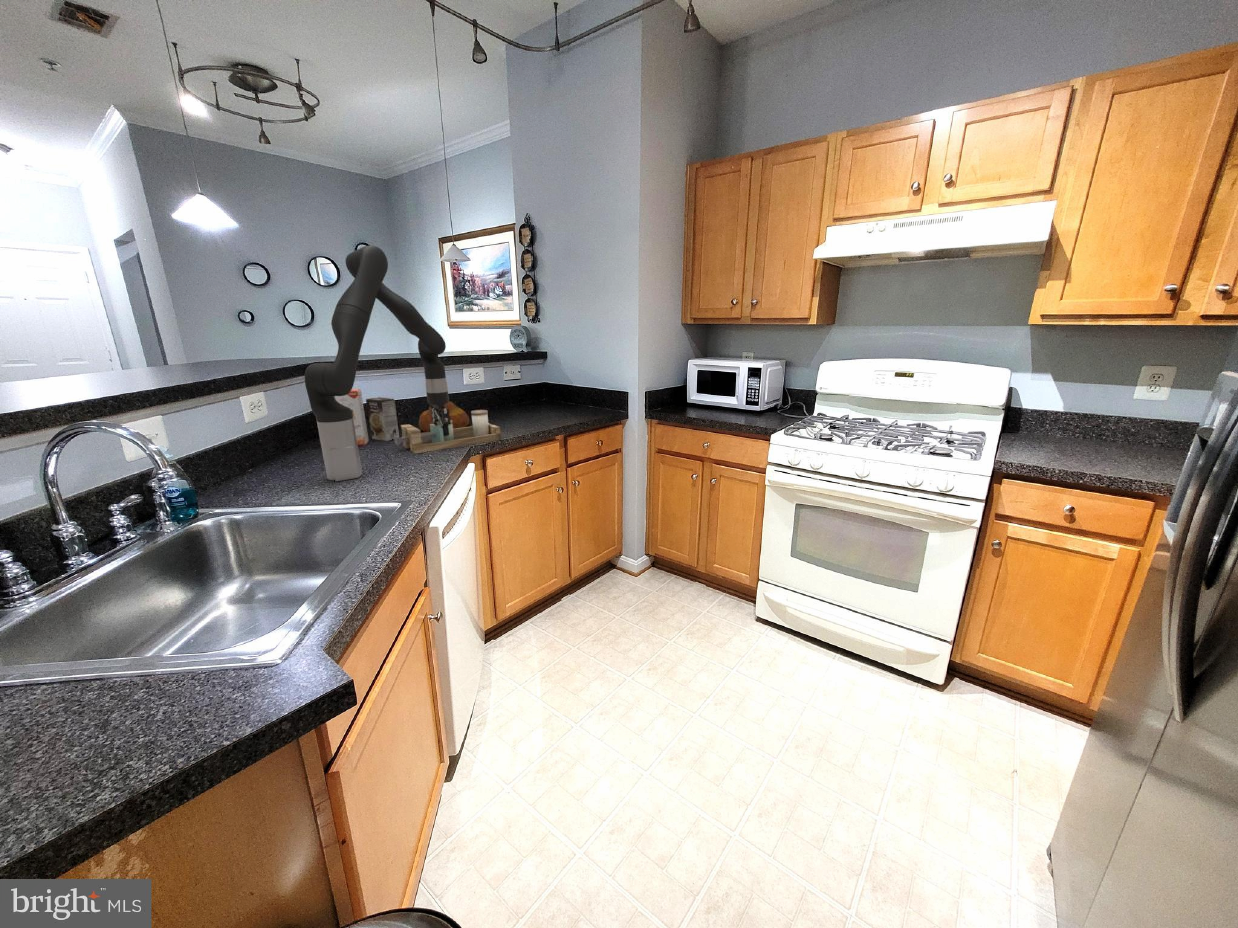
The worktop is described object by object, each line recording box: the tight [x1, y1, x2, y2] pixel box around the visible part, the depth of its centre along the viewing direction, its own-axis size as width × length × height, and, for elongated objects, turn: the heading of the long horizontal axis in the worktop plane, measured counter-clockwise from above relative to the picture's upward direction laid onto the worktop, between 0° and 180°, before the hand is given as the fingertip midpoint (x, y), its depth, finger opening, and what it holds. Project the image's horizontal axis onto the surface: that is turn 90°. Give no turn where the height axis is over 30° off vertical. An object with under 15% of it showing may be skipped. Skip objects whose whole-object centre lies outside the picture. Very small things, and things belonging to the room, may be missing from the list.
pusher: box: [393, 424, 444, 446], centre depth 176 cm, size 11×15×7 cm
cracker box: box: [334, 388, 370, 446], centre depth 181 cm, size 14×6×21 cm, turn 105°
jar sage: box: [437, 420, 455, 441], centre depth 181 cm, size 6×6×9 cm
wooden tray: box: [400, 422, 502, 454], centre depth 183 cm, size 14×33×8 cm, turn 128°
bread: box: [418, 400, 470, 433], centre depth 211 cm, size 21×33×12 cm, turn 2°
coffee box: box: [365, 397, 400, 442], centre depth 191 cm, size 9×6×16 cm
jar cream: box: [470, 409, 489, 437], centre depth 189 cm, size 6×6×11 cm
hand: (442, 433), depth 181 cm, fingers open, 8 cm apart
